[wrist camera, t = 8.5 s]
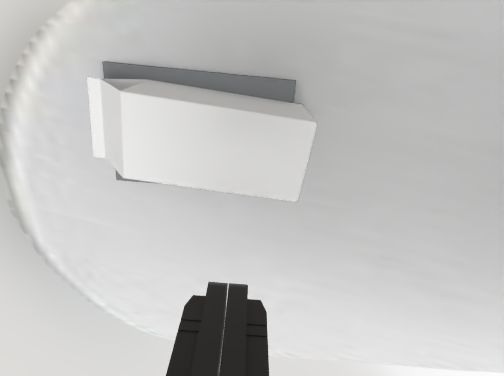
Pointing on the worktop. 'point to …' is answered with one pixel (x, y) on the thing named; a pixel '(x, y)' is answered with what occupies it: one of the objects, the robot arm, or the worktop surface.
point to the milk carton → (201, 137)
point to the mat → (204, 83)
